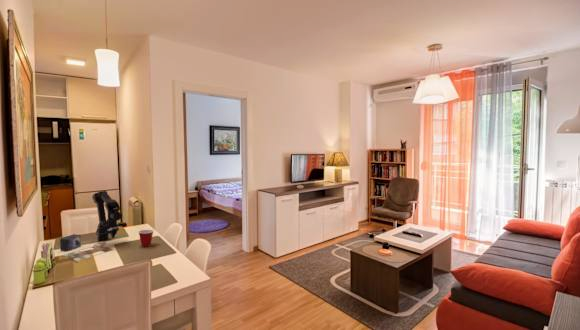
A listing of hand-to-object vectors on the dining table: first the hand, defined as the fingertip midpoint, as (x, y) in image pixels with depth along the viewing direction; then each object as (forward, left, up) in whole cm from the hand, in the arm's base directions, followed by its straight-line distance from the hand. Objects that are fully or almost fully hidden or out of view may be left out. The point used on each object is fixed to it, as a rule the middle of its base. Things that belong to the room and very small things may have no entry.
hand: (112, 238), depth 210 cm
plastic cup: (-14, +19, -7) cm, 25 cm away
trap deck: (+16, 0, -7) cm, 17 cm away
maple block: (+9, 0, -5) cm, 10 cm away
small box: (+20, -19, -7) cm, 28 cm away
